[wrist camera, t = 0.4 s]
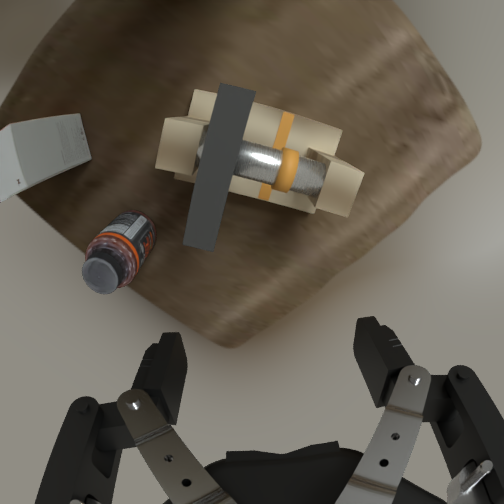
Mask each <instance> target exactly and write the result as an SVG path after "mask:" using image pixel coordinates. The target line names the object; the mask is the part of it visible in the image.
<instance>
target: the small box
mask: <svg viewBox="0 0 504 504" xmlns="http://www.w3.org/2000/svg"><path fill="white" fill-rule="evenodd" d="M91 159H92V158H91V154H90V151H89V147H88V143H87V139H86V136H85V132H84V128H83V124H82V120H81V116H80V113H76V114H67V115H60V116H52V117H45V118H39V119H33V120H27V121H22V122H16V123H10V124H8V125H7V126H6V127H4V128H3V129H1V130H0V203H1V202H3V201H5V200H6V199H8V198H10V197H12V196H14V195H16V194H17V193H19V192H22V191H24V190H26V189H28V188H30V187H32V186H34V185H36V184H38V183H40V182H42V181H44V180H47V179H49V178H51V177H53V176H55V175H58V174H60V173H62V172H65V171H67V170H69V169H71V168H74V167H76V166H78V165H81V164H83V163H85V162H87V161H90V160H91Z"/></svg>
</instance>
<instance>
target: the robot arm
mask: <svg viewBox="0 0 504 504" xmlns="http://www.w3.org/2000/svg"><path fill="white" fill-rule="evenodd" d="M353 345H354V346H353V349H354V356H355V358H356V361H357V363H358V365H359V368H360V370H361V372H362V375H363V377H364V379H365V382H366V384H367V386H368V389H369V391H370V394H371V396H372V399H373V401H374V403H375V406H376V408H379V407H382V406H385V410H384V413H383V415H382V417H381V420H380V422H379V424H378V426H377V428H376V431H375V433H374V435H373V437H372V439H371V441H370V443H369V445H368V447H367V449H366V451H365V453H362V452H359V451H356V450H352V449H347V448H339V444H338V441H334V442H328V443H322V444H315V445H310V446H308V447H304V448H301V449H298V450H296V451H292V452H289V453H287V454H275V453H268V452H260V451H227V452H226V459H222V460H219V461H215V462H213V463H211V464H209V465H207V466H205V467H203V466H202V465H201V464H200V463H199V461H198V460H197V459H196V458H195V457H194V455H193V454H192V453H191V451H190V450H189V449H188V448H187V446H186V445H185V444H184V442H183V441H182V440H181V438H180V437H179V436H178V434H177V433H176V432H175V430H174V429H173V428H172V426H171V425H176V423H177V418H178V413H179V407H180V403H181V398H182V393H183V388H184V383H185V378H186V374H187V357H186V353H185V349H184V346H183V342H182V338H181V335H180V333H179V332H172V333H171V332H169V333H163V334H162V336H161V339H160V341H159V343H158V344H157V343H153V344H152V345H151V346H150V347H149V348H148V349H147V350H146V351H145V354H144V356H143V360H142V362H141V364H140V367H139V369H138V372H137V375H136V377H135V380H134V383H133V386H132V388H131V390H128V391H126V392H124V393H122V394H121V395H120V396H119V398H118V400H117V401H116V402H111V403H105V404H98V402H97V401H96V400H95V399H94V398H92V397H87V396H86V397H80V398H78V399H76V400H75V401H74V402H73V403H72V404H71V406H70V408H69V410H68V412H67V415H66V417H65V420H64V422H63V424H62V427H61V429H60V432H59V434H58V437H57V439H56V442H55V445H54V447H53V450H52V453H51V455H50V458H49V461H48V464H47V467H46V470H45V473H44V476H43V479H42V482H41V485H40V488H39V491H38V494H37V498H36V501H35V504H112V498H113V493H114V488H115V482H116V477H117V472H118V468H119V463H120V458H121V453H122V449H125V448H132V447H137V448H138V450H139V451H140V453H141V455H142V456H143V458H144V460H145V462H146V463H147V465H148V467H149V468H150V470H151V471H152V473H153V475H154V476H155V478H156V479H157V481H158V482H159V484H160V485H161V487H162V488H163V490H164V491H165V493H166V494H167V496H168V497H169V499H168V500H167V501H166V502H164V503H163V504H504V419H503V418H502V416H501V414H500V413H499V411H498V409H497V407H496V406H495V404H494V402H493V401H492V399H491V397H490V396H489V394H488V393H487V391H486V389H485V388H484V386H483V385H482V383H481V382H480V380H479V378H478V377H477V375H476V374H475V372H474V371H473V370H472V369H470V368H469V367H467V366H463V365H457V366H454V367H452V368H451V369H450V371H449V373H448V375H430V373H429V372H428V371H427V370H426V369H425V368H423V367H421V366H417V365H415V364H414V363H413V361H412V360H411V358H410V356H409V355H408V353H407V352H406V350H405V348H404V347H403V345H402V344H401V342H400V341H399V340H398V337H397V336H396V335H395V333H394V331H393V330H391V329H390V328H389V327H387V326H386V325H382V326H380V324H379V323H378V321H377V320H376V318H375V317H374V316H370V317H364V318H358V320H357V323H356V330H355V338H354V344H353ZM422 422H430V424H431V426H432V429H433V431H434V434H435V436H436V439H437V441H438V444H439V446H440V448H441V451H442V454H443V456H444V459H445V461H446V464H447V467H448V469H449V472H450V475H451V478H452V480H451V482H450V483H449V485H448V488H447V496H448V497H447V503H446V502H445V501H444V500H442V499H441V498H439V497H437V496H435V495H433V494H431V493H429V492H428V491H425V490H424V489H422V488H420V487H418V486H417V485H415V484H413V483H412V482H410V481H408V480H406V479H405V478H403V477H402V476H403V473H404V471H405V468H406V466H407V463H408V460H409V458H410V455H411V453H412V450H413V447H414V444H415V441H416V438H417V435H418V432H419V429H420V426H421V423H422ZM168 424H169V425H168Z"/></svg>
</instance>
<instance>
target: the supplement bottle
mask: <svg viewBox="0 0 504 504" xmlns="http://www.w3.org/2000/svg"><path fill="white" fill-rule="evenodd" d="M155 241H156V229H155V226H154V224H153V222H152V220H151V219H150V218H149V217H148V216H147V215H145V214H144V213H142V212H139V211H135V210H130V211H126V212H123V213H121V214H120V215H119V216H118V217H116V218H115V219H114V220H113V221H112V222H111V223H110V224H109V225H108V226H107V227H106V228H105V229H103V230H102V231H101V232H100V233H99V234H98V235H97V236H96V237H95V238H94V239H93V240H92V241H91V243H90V244H89V246H88V247H87V250H86V255H85V263H84V265H83V267H82V275H83V279H84V281H85V282H86V284H87V285H88V286H89V287H90V288H91V289H92V290H94V291H95V292H97V293H100V294H110V293H112V292H114V290H116V288H121V287H124V286H126V285H128V284H129V283H130V282H131V281H132V280H133V279H134V277H135V276H136V274H137V273H138V271H139V269H140V267H141V266H142V264H143V262H144V261H145V259H146V257H147V256H148V254H149V253H150V251H151V249H152V248H153V246H154V244H155Z"/></svg>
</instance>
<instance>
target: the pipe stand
mask: <svg viewBox="0 0 504 504" xmlns="http://www.w3.org/2000/svg"><path fill="white" fill-rule="evenodd" d="M216 97H217V93H212V92H207V91H202V90H197V89H195V90H194V94H193V98H192V102H191V105H190V109H189V113H188V116H183V117H172V118H165V122H164V126H163V131H162V136H161V140H160V145H159V150H158V155H157V160H156V166H155V168H158V169H163V170H167V171H172V172H175V175H174V179H177V180H182V181H186V182H191V183H195V181H196V176H197V172H198V167H199V163H200V159H201V155H202V151H203V146H204V142H205V138H206V134H207V130H208V127H209V123H210V119H211V115H212V111H213V108H214V104H215V100H216ZM341 133H342V130H340V129H337V128H335V127H332V126H329V125H326V124H324V123H321V122H318V121H315V120H312V119H309V118H306V117H303V116H300V115H297V114H293V113H290V112H287V111H283V110H280V109H277V108H273V107H270V106H266V105H262V104H259V103H255V102H253V104H252V107H251V111H250V114H249V118H248V121H247V125H246V128H245V132H244V136H243V139H242V143H241V146H240V150H239V154H238V157H237V161H236V165H235V168H234V172H233V176H232V180H231V184H230V187H229V192H233V193H237V194H241V195H245V196H249V197H253V198H257V199H261V200H264V201H268V202H272V203H276V204H280V205H283V206H287V207H291V208H294V209H298V210H301V211H305V212H308V213H312V214H314V213H315V210H316V208H318V209H321V210H325V211H328V212H331V213H335V214H338V215H341V216H344V217H348V216H349V213H350V211H351V208H352V205H353V203H354V200H355V197H356V195H357V192H358V189H359V187H360V184H361V181H362V178H363V176H364V172H362V171H360V170H359V169H357V168H355V167H353V166H352V165H350V164H348V163H346V162H344V161H343V160H341V159H339V158H337V157H335V156H334V155H335V152H336V149H337V146H338V143H339V140H340V137H341Z"/></svg>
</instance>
